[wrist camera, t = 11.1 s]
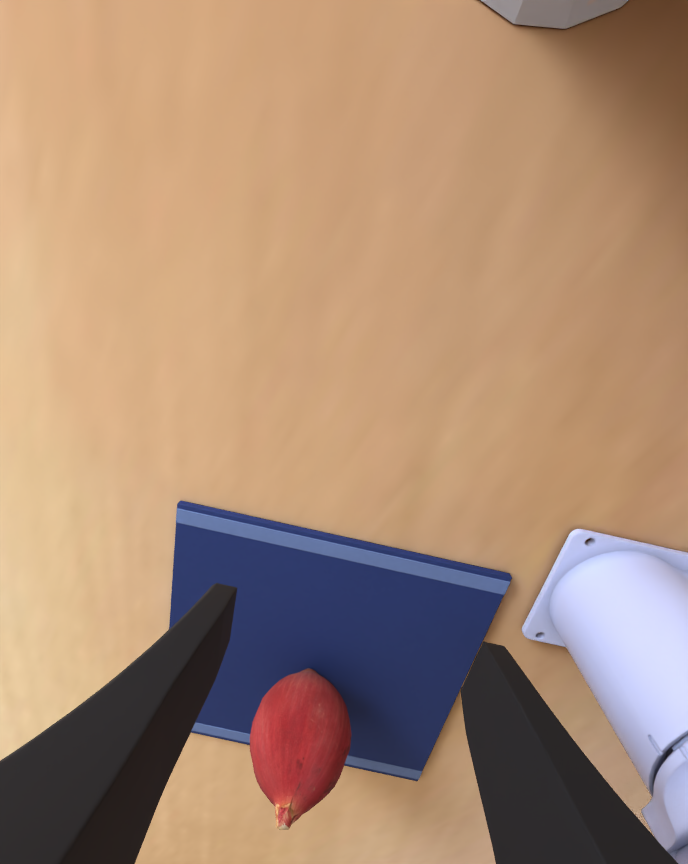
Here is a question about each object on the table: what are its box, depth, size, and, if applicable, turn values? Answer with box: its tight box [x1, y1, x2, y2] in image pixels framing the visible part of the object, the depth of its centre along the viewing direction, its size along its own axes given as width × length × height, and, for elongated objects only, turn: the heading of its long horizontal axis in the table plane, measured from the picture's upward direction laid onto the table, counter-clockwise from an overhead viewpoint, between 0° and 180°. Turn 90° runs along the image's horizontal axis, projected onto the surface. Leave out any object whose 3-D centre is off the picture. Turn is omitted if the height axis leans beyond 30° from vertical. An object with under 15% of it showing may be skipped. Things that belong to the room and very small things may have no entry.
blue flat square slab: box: [169, 501, 512, 781], centre depth 25 cm, size 20×20×1 cm
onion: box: [250, 668, 351, 830], centre depth 21 cm, size 6×6×8 cm
